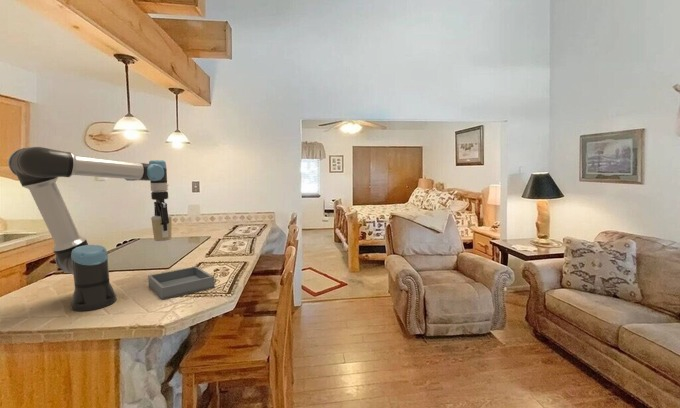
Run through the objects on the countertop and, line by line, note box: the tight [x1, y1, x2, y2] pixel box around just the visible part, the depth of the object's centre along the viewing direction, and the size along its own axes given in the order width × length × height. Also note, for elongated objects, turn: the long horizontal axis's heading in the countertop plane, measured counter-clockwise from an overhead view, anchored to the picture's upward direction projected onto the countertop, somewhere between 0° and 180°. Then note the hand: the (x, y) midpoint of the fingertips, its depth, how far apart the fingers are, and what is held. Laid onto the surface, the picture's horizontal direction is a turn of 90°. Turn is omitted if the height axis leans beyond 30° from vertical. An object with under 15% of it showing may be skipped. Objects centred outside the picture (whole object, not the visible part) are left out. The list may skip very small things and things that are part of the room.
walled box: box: [147, 265, 216, 301], centre depth 165 cm, size 22×23×5 cm
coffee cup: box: [150, 214, 173, 242], centre depth 182 cm, size 9×9×12 cm
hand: (162, 235), depth 182 cm, fingers closed on coffee cup, 9 cm apart
